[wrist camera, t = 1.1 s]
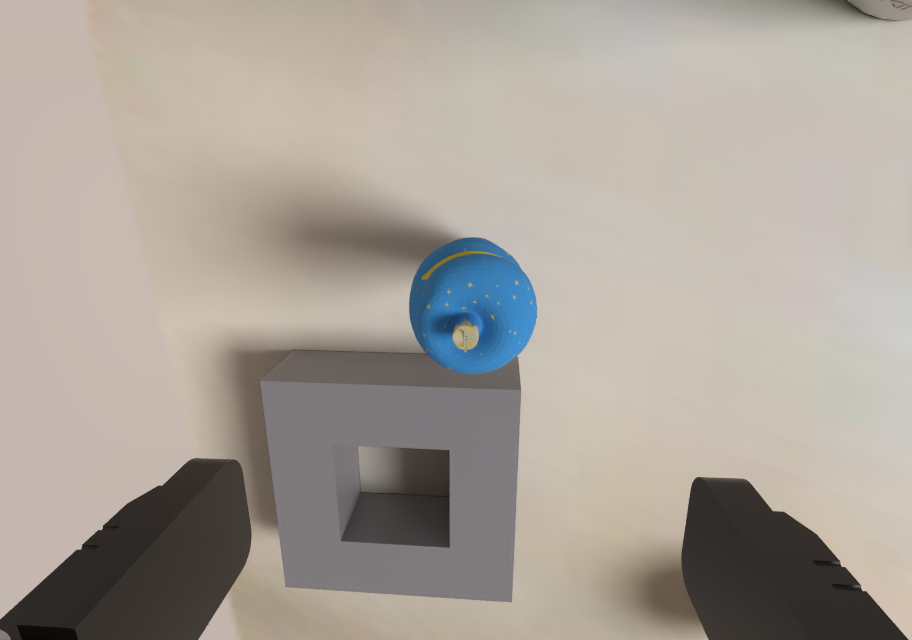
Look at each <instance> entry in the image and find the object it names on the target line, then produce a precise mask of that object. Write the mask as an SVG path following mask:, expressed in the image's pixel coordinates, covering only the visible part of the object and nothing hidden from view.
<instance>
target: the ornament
mask: <svg viewBox="0 0 912 640" xmlns="http://www.w3.org/2000/svg"><path fill="white" fill-rule="evenodd" d="M409 313H410V320H411V324H412V328H413V331H414V333H415V336H416V338H417V340H418V342H419V344H420V345H421V347H422V348H423V350H424V351H425V352H426V353H427V355H428V356H429V357H430V358H431V359H432V360H434V361H435V362H436V363H438V364H439V365H441V366H442V367H444V368H446V369H448V370H451V371H454V372H457V373H462V374H481V373H486V372H490V371H494V370H496V369H499V368H501V367H503V366H504V365H506V364H508V363H509V362H510V361H512V360H513V359H514V358H515V357H516V356H517V355H518V354H519V353H520V352H521V351H522V350H523V349H524V348H525V346H526V345H527V343H528V341H529V339H530V337H531V335H532V332H533V330H534V327H535V323H536V318H537V304H536V297H535V293H534V290H533V287H532V285H531V282H530V281H529V279H528V277H527V276H526V274H525V273H524V272H523V271H522V269H521V268H520V266H519V264H518V263H517V262H516V260H515V259H514V258H513V257H512V256H511V255H510V254H508V253H507V252H506V251H505V250H503V249H502V248H500V247H499V246H497V245H495V244H494V243H492V242H491V241H488V240H486V239H482V238H462V239H458V240H455V241H453V242H451V243H449V244H447V245H444V246H442V247H441V248H439V249H437V250H436V251H434V252H433V253H431V254H430V255H429V256H428V257H427V258H426V259H425V260H424V261H423V262H422V264H421V265H420V267H419V268H418V270H417V273H416V275H415V277H414V280H413V283H412V287H411V292H410V302H409Z"/></svg>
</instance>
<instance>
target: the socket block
mask: <svg viewBox="0 0 912 640" xmlns="http://www.w3.org/2000/svg"><path fill="white" fill-rule="evenodd" d="M260 387H261V395H262V403H263V411H264V418H265V426H266V434H267V442H268V450H269V458H270V466H271V474H272V482H273V490H274V497H275V505H276V513H277V521H278V529H279V537H280V545H281V553H282V561H283V569H284V576H285V584H286V587H293V588H308V589H322V590H337V591H352V592H367V593H382V594H396V595H411V596H426V597H441V598H455V599H470V600H485V601H500V602H512V587H513V564H514V540H515V517H516V494H517V471H518V448H519V424H520V401H521V385H520V374H519V363H518V357H515V358H514V359H513V360H512V361H510V362H509V363H508V364H506V365H504V366H503V367H501V368H499V369H496V370H494V371H490V372H486V373H481V374H462V373H457V372H454V371H451V370H448V369H446V368H444V367H442V366H441V365H439V364H438V363H436V362H435V361H434V360H432V359H431V358H430V357H429V356H428V355H427V354H409V353H376V352H344V351H311V350H292V351H291V352H290V353H289V354H288V355H287V356H286V357H285V358H284V359H283V360H282V361H281V362H280V363H278V364H277V365H276V366H275V367H274V368H273V369H272V370H271V371H270V372H269V373H268V374H267V375H266V376H264V377H263V378H262V379H261V380H260ZM358 446H371V447H393V448H415V449H438V450H449V457H450V497H440V496H420V495H401V494H382V493H363V492H361V488H360V473H359V458H358Z"/></svg>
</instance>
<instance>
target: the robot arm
mask: <svg viewBox="0 0 912 640" xmlns="http://www.w3.org/2000/svg"><path fill="white" fill-rule="evenodd" d="M847 1H848V2H849V3H851V4H852V5H854V6H855V7H857V8H858V9H859V10H861V11H862V12H864V13H867V14H870V15H872V16H875V17H878V18H881V19H889V20H900V21H902V20H910V19H912V0H847ZM250 546H251V525H250V518H249V511H248V505H247V498H246V491H245V485H244V478H243V472H242V468H241V465H240V464H239V462H238V461H236V460H230V459H201V458H194V459H191V460H189V461H188V462H187V463H186V464H185V465H184V466H182V467H181V468H180V469H179V470H178V471H177V472H176V473H175V474H174V475H173V476H172V477H171V478H170V479H169V480H168V481H167V482H166V483H165V484H164V485H163V486H157V487H155V488H154V489H152V490H150V491H149V492H147V493H145V494H143V495H142V496H140V497H138V498H136V499H135V500H133V501H131V502H129V503H128V504H126V505H125V506H124V507H123V508H122V509H121V510H120V511H119V512H118V513H117V514H116V515H114V516H113V517H112V518H111V519H110V520H109V521H108V522H107V523H106V524H104V525H103V529H102V530H98V531H97V532H96V533H95V534H94V535H93V536H92V537H90V538H89V539H88V540H87V541H86V542H85V543H84V544H83V545H82V549H81V550H76V551H75V552H74V553H73V554H72V555H71V556H69V557H68V558H67V559H66V560H65V561H64V562H63V563H62V564H61V565H60V566H58V568H56V569H55V570H54V571H53V572H52V573H51V574H50V575H49V576H47V577H46V578H45V579H44V580H43V581H42V582H41V583H40V584H39V585H38V586H37V587H35V588H34V590H32V591H31V592H30V593H29V594H28V595H27V596H26V597H25V598H23V599H22V601H20V602H19V603H18V604H17V605H16V606H15V607H14V608H13V609H11V610H10V611H9V612H8V613H7V614H6V615H5V616H4V617H3V618H1V619H0V640H198V639H199V637H200V636H201V634H202V633H203V631H204V630H205V628H206V626H207V625H208V623H209V621H210V620H211V619H212V617H213V615H214V614H215V612H216V610H217V609H218V607H219V606H220V604H221V603H222V601H223V600H224V598H225V596H226V595H227V593H228V592H229V590H230V588H231V587H232V585H233V584H234V582H235V581H236V579H237V577H238V576H239V574H240V573H241V571H242V569H243V567H244V566H245V563H246V561H247V558H248V555H249V551H250ZM682 571H683V577H684V582H685V586H686V589H687V592H688V594H689V597H690V599H691V601H692V603H693V606H694V608H695V610H696V612H697V615H698V617H699V619H700V621H701V623H702V626H703V628H704V630H705V632H706V635H707V637H708V639H709V640H908V639H907V638H906V636H905V635H904V634H903V633H902V632H901V631H900V630H899V628H898V627H897V626H896V625H895V624H894V623H893V622H892V620H891V619H890V618H889V617H888V616H887V615H886V613H885V612H884V611H883V610H882V609H881V608H880V607H879V605H878V604H877V603H876V602H875V601H874V600H873V599H872V597H871V596H870V595H869V594H868V593H867V592H866V591H862V590H861V585H860V584H859V582H858V581H857V580H856V579H855V578H854V577H853V576H852V574H851V573H850V572H849V571H848V570H847V569H846V568H845V567H841V564H840V561H839V560H838V558H837V557H836V556H835V555H834V554H833V553H832V551H831V550H830V549H829V548H828V547H827V546H826V545H825V543H824V542H823V541H822V540H821V539H820V538H819V537H818V535H817V534H815V533H814V532H812V531H811V530H809V529H808V528H807V527H805V526H804V525H802V524H801V523H799V522H798V521H796V520H795V519H794V518H792V517H791V516H789V515H788V514H786V513H785V512H777V511H772V510H771V508H770V507H769V506H768V505H767V503H766V502H765V501H764V500H763V498H762V497H761V496H760V495H759V493H758V492H757V491H756V490H755V488H754V487H753V486H752V485H751V484H750V482H749V481H747V480H745V479H735V478H707V477H697V478H696V479H695V480H694V481H693V483H692V486H691V491H690V498H689V505H688V512H687V519H686V526H685V533H684V540H683V547H682Z"/></svg>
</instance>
